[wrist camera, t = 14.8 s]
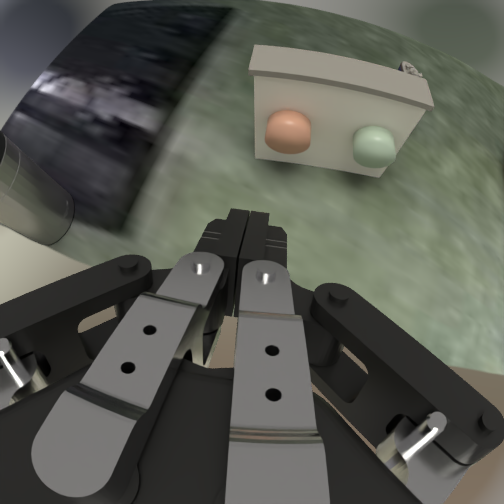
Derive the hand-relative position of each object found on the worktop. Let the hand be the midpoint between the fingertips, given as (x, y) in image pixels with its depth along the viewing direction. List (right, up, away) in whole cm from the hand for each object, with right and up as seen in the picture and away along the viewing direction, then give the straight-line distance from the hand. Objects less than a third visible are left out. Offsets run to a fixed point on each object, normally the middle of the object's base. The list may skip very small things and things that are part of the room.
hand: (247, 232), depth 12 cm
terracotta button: (+5, +15, +23) cm, 28 cm away
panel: (+10, +13, +30) cm, 34 cm away
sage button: (+15, +13, +23) cm, 30 cm away
